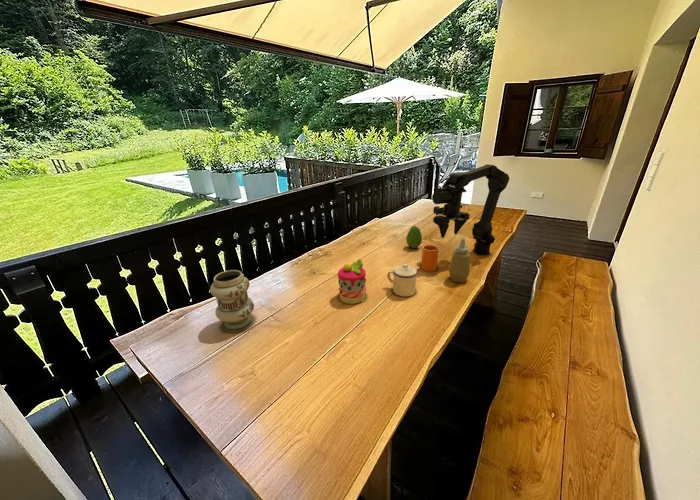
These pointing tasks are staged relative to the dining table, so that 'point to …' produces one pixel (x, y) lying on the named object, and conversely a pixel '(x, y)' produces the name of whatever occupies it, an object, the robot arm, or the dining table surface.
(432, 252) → the orange cup
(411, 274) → the teacup with lid
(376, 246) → the dining table surface
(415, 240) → the avocado
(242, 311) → the apothecary jar
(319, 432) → the dining table surface
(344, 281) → the cake
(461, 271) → the squeeze bottle
